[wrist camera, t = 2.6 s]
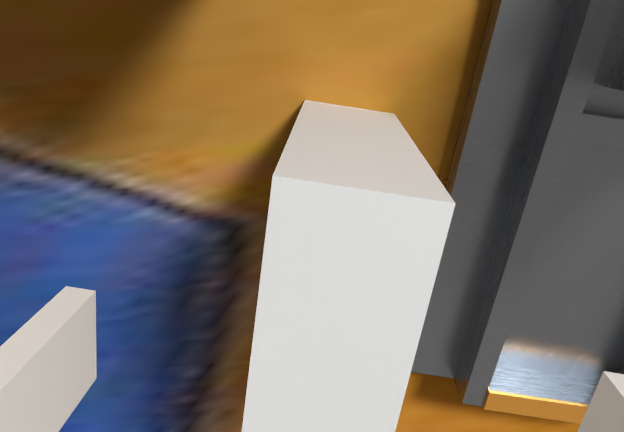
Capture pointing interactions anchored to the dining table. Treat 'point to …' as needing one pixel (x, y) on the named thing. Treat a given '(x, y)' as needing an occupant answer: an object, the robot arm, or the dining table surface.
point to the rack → (535, 215)
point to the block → (344, 274)
